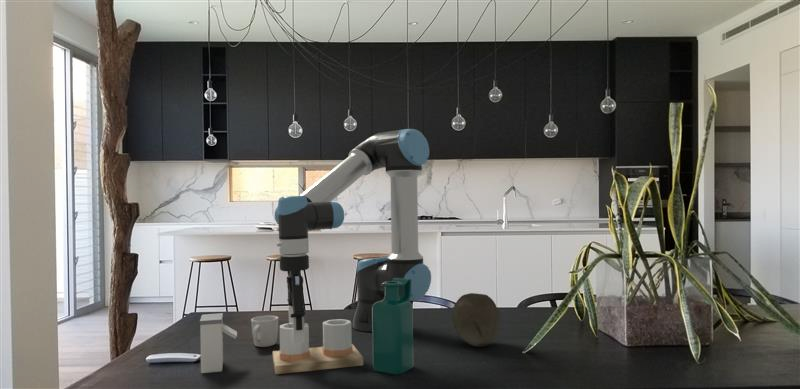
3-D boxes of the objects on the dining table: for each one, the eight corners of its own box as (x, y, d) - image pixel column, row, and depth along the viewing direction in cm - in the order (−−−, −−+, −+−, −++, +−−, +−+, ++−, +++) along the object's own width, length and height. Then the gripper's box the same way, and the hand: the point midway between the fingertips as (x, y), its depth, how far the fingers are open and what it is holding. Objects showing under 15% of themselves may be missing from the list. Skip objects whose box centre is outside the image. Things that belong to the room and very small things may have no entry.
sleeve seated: (348, 347, 151) (348, 318, 151) (354, 354, 144) (353, 324, 144) (321, 350, 149) (320, 320, 149) (325, 357, 141) (324, 326, 142)
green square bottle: (398, 376, 132) (397, 284, 132) (369, 371, 136) (368, 282, 136) (419, 365, 140) (417, 279, 140) (391, 360, 144) (389, 277, 145)
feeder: (237, 360, 147) (236, 312, 147) (237, 369, 139) (236, 318, 139) (202, 364, 144) (202, 314, 145) (200, 373, 137) (199, 321, 137)
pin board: (352, 351, 154) (352, 319, 154) (363, 365, 141) (362, 330, 141) (272, 358, 148) (272, 325, 148) (275, 374, 135) (275, 337, 135)
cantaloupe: (510, 344, 159) (509, 292, 159) (482, 355, 148) (481, 299, 148) (470, 336, 168) (469, 287, 168) (441, 346, 158) (440, 294, 158)
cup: (267, 352, 155) (267, 323, 155) (241, 351, 157) (241, 322, 157) (283, 342, 166) (283, 315, 166) (258, 341, 167) (258, 315, 167)
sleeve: (307, 351, 148) (307, 321, 148) (310, 359, 140) (310, 327, 140) (278, 353, 146) (278, 323, 146) (280, 361, 138) (280, 330, 138)
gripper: (276, 251, 154) (278, 326, 154) (282, 261, 130) (285, 350, 130) (303, 249, 156) (305, 323, 156) (314, 259, 132) (317, 346, 133)
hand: (296, 336), depth 143 cm, fingers open, 13 cm apart
